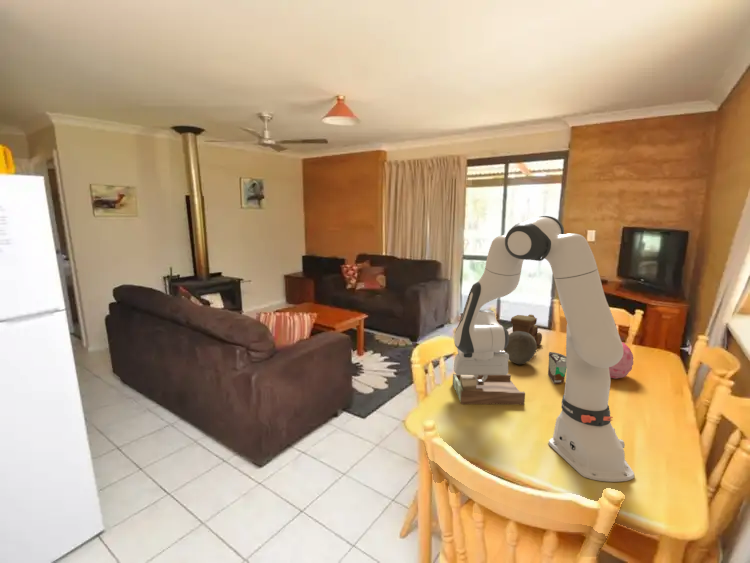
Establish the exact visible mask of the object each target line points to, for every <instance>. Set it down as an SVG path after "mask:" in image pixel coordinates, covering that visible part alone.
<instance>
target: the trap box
mask: <svg viewBox="0 0 750 563" xmlns="http://www.w3.org/2000/svg"><path fill="white" fill-rule="evenodd" d="M460 376H461V375H457V374H456V373H453V374H452V386H453V389H454V390H456V391H455V393H456V396H457V395H458V396H457V398H458V400H459V403H460V402H461V403H460V404H461V405H525V402H526V401H525V400H526V392H525V391H520V390H519V388H518V387H517V386H516V385H515V384H514V382H513V381H512V380H511V376H512V375H511V374H509V373H508V374H507V375H488V377H487V379H486V380H485V381H484V385H476V390H463V389H462V387H461V384H460ZM482 378H483V375H478V377H477V379H482Z"/></svg>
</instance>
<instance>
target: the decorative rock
mask: <svg viewBox="0 0 750 563" xmlns="http://www.w3.org/2000/svg"><path fill="white" fill-rule="evenodd" d="M621 342H622V341H621ZM622 345H623V356H622V358H621V360H620V361H619V362H618V363H617V364H616V365H614V366H612V367H609V374H610V379H621V378H625V377H626V376H628V375H629V372H630V371H632V370H633V366H634V354H633V352H632V350H631V349H630V347H629V346H628V345H627V344H626V343H625V342H622Z"/></svg>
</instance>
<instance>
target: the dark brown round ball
mask: <svg viewBox="0 0 750 563" xmlns="http://www.w3.org/2000/svg"><path fill="white" fill-rule="evenodd" d="M537 348H538V345H537V343H536V341H535V339H534V338H533V336H532V335H531V334H529V333H527V332H522V331H515V332H513V331H511V332H509V343H508V345H507V347H506V348H505V349H504V350H503V351H505V352H507V353H508V354H509V360H508V361H510V362H512V363H514V364H516V365H524V364H526V363H528V362H530V361H531V360H532V358H533V357H534V356H535V354H536V352H537Z"/></svg>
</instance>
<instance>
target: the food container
mask: <svg viewBox="0 0 750 563" xmlns="http://www.w3.org/2000/svg"><path fill="white" fill-rule="evenodd" d="M547 369H548V370H547V375H548V377H549V378H550V380H551V382H552V383H553V384H554V385H561V384H564V383H565V380H566V371H567V367H566V355H564V354H562V353H558V352H554V351H549V352H548V368H547Z"/></svg>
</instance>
